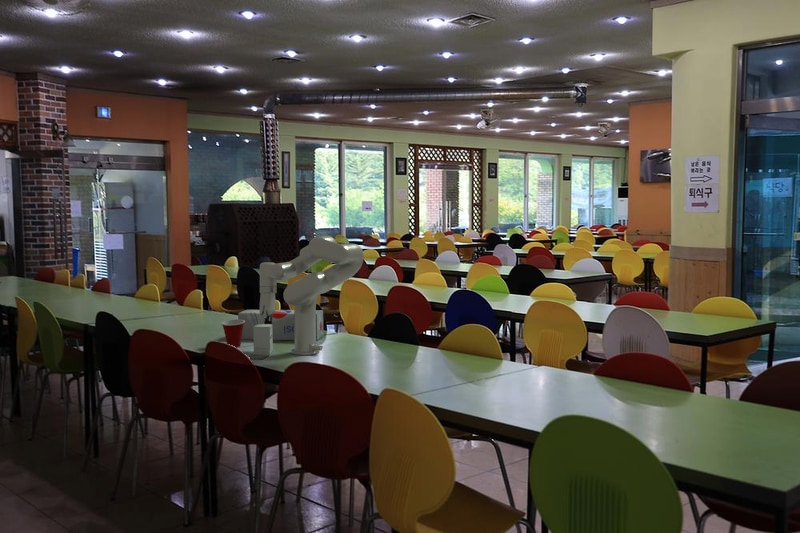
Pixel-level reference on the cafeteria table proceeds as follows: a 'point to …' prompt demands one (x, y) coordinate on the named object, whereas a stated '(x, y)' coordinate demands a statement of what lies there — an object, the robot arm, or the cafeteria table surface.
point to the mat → (257, 357)
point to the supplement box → (263, 339)
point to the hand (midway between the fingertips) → (268, 329)
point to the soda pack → (277, 324)
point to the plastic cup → (233, 331)
